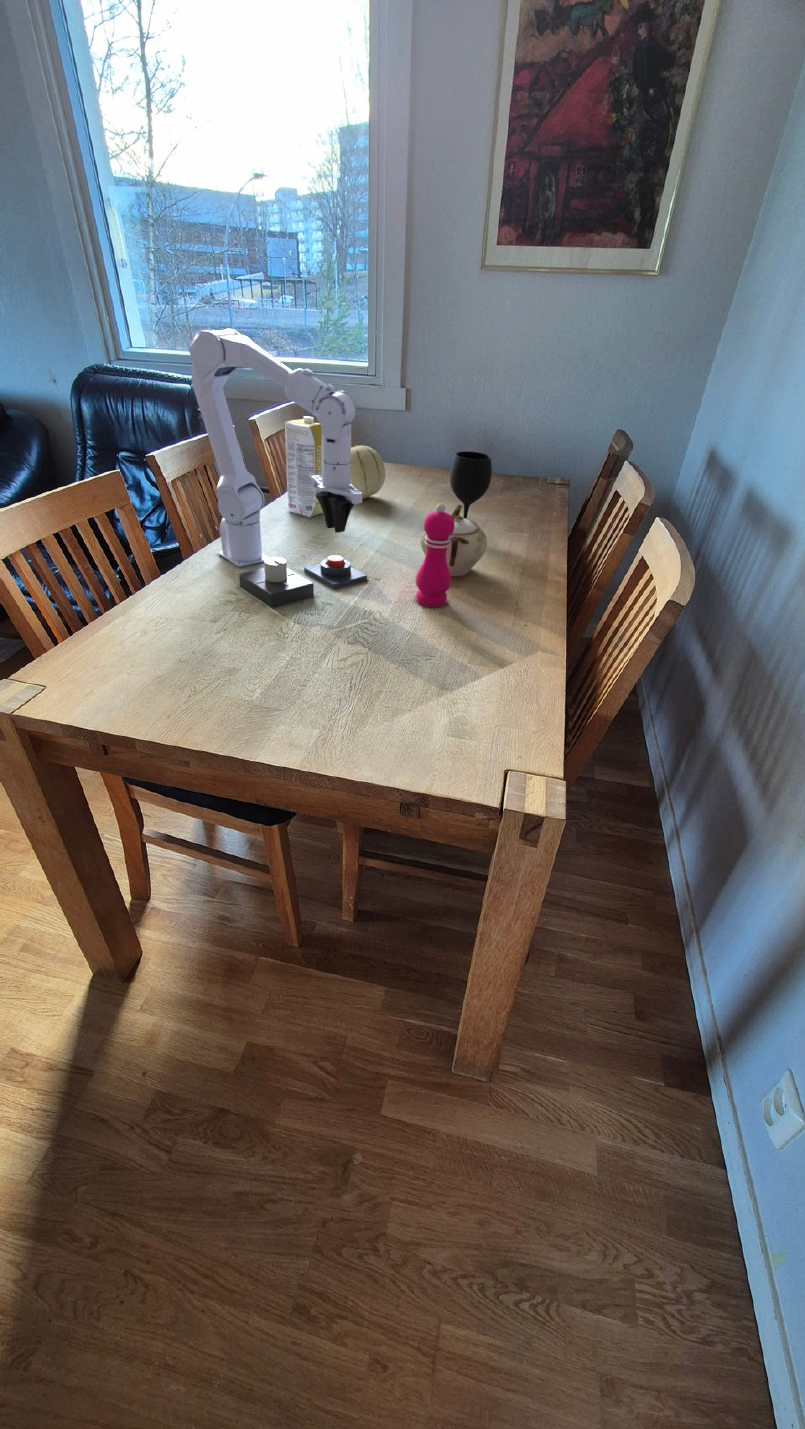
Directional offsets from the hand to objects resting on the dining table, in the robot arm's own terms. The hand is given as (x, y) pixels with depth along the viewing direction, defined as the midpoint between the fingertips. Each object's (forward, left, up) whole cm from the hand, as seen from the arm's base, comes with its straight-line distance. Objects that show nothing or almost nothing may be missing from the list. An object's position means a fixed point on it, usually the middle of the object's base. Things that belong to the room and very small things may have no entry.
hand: (335, 529), depth 129 cm
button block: (0, 0, -10) cm, 10 cm away
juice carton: (-40, +20, -11) cm, 46 cm away
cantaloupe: (-44, +42, -11) cm, 62 cm away
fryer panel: (0, -15, -10) cm, 18 cm away
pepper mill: (+21, +9, -11) cm, 25 cm away
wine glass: (-4, +45, -11) cm, 46 cm away
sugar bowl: (+11, +25, -11) cm, 29 cm away
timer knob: (0, -15, -7) cm, 17 cm away
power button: (0, 0, -8) cm, 8 cm away
